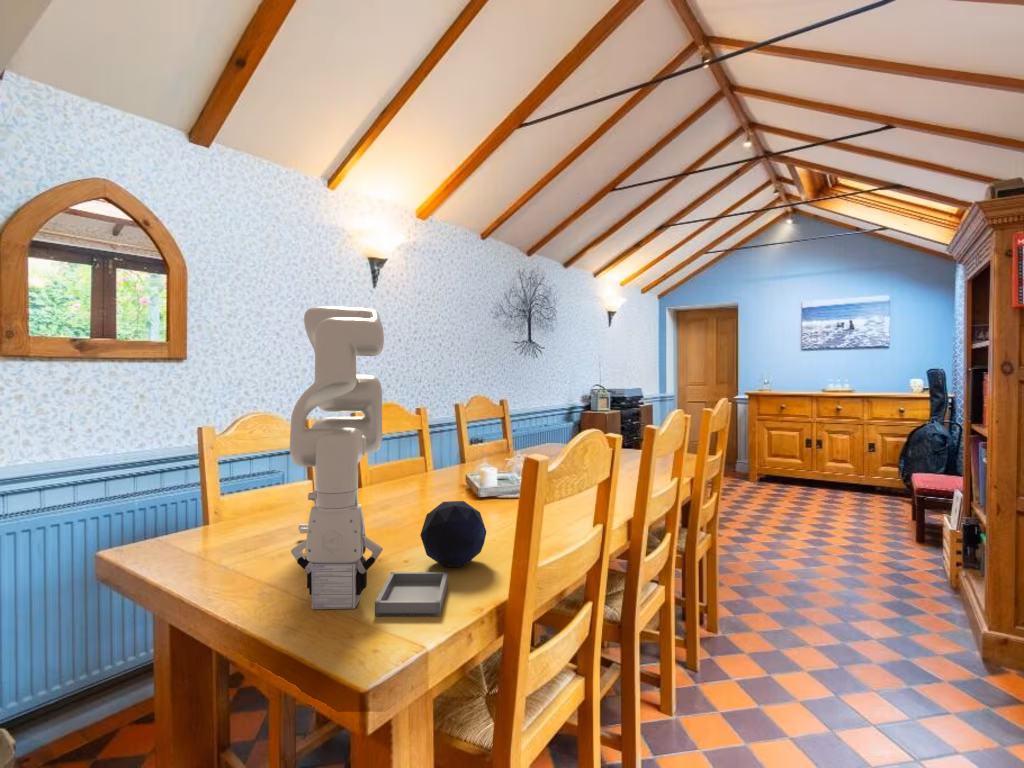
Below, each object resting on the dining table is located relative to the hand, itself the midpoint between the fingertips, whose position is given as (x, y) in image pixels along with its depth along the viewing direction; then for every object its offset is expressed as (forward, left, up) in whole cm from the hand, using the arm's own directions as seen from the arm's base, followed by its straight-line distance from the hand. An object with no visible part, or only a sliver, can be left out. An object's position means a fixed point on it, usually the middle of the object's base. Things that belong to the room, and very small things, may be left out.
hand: (337, 591), depth 102 cm
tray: (+14, +2, -2) cm, 14 cm away
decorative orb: (+20, +21, -3) cm, 29 cm away
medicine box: (0, 0, -2) cm, 3 cm away
